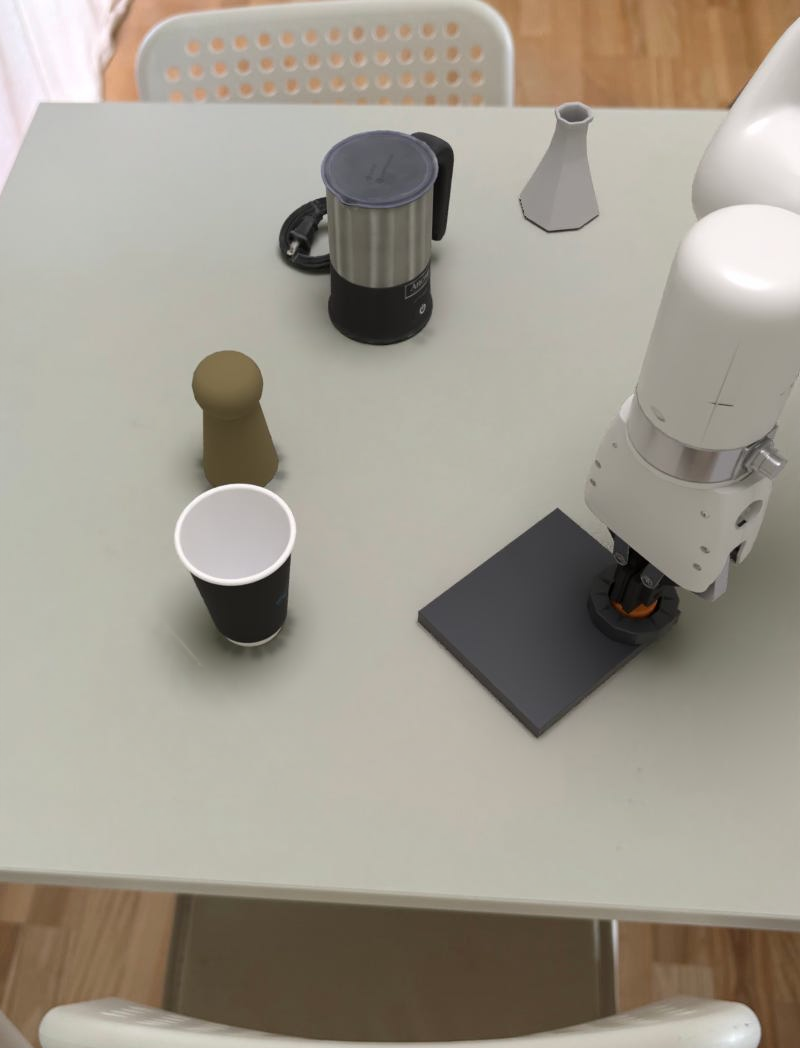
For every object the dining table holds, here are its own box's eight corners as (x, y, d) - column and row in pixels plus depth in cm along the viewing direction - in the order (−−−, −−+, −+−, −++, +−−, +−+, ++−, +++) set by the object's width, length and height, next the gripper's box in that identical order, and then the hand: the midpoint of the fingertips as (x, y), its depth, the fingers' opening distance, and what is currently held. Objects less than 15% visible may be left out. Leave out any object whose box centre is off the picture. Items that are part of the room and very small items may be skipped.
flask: (505, 196, 105) (516, 101, 96) (572, 174, 106) (588, 78, 98) (543, 242, 101) (558, 147, 92) (612, 218, 102) (633, 123, 94)
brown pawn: (235, 506, 86) (217, 413, 77) (188, 462, 88) (165, 366, 79) (294, 464, 88) (284, 368, 79) (246, 422, 90) (231, 325, 81)
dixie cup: (325, 634, 79) (318, 548, 70) (226, 685, 77) (206, 603, 68) (273, 555, 83) (260, 464, 74) (178, 602, 81) (153, 514, 72)
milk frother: (415, 356, 94) (421, 214, 81) (242, 320, 97) (223, 178, 85) (458, 247, 101) (469, 102, 89) (296, 217, 104) (285, 73, 92)
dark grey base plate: (559, 514, 84) (564, 491, 81) (686, 622, 78) (696, 600, 76) (417, 621, 79) (418, 599, 77) (541, 743, 74) (547, 724, 71)
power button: (629, 580, 78) (634, 568, 77) (662, 608, 77) (667, 596, 76) (600, 603, 77) (604, 592, 76) (632, 632, 76) (637, 620, 75)
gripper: (856, 465, 58) (756, 637, 74) (642, 315, 65) (591, 501, 81) (765, 540, 56) (681, 702, 71) (552, 377, 63) (517, 556, 78)
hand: (633, 595), depth 76 cm, fingers closed
